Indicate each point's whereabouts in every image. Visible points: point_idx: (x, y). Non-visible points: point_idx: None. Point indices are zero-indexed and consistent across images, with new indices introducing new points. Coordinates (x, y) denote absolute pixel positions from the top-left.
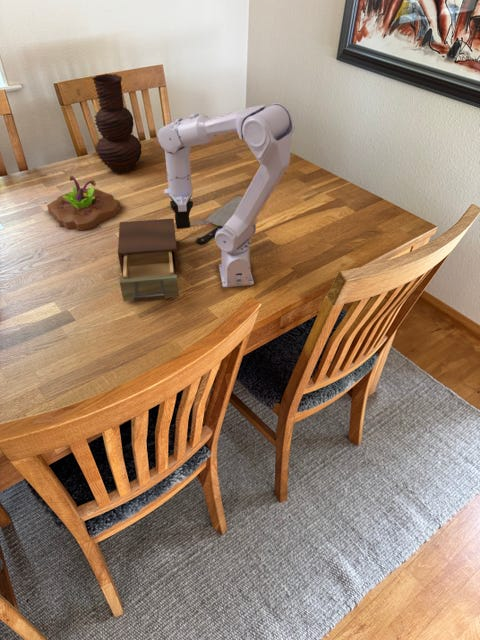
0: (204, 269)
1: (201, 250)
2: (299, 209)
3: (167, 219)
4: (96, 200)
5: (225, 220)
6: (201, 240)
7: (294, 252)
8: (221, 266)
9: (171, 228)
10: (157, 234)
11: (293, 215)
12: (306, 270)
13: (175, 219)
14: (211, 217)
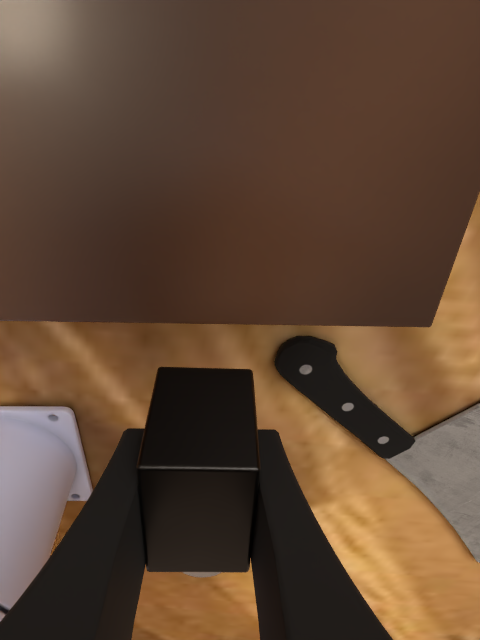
0: (40, 344)
1: (223, 347)
2: (407, 623)
3: (435, 273)
4: None
5: (446, 467)
6: (302, 364)
7: (160, 592)
8: (59, 416)
9: (243, 299)
10: (137, 138)
11: (379, 611)
12: None
13: (138, 462)
14: None
